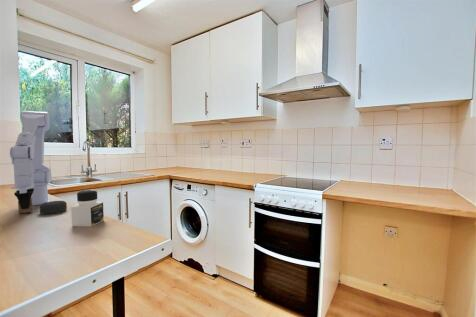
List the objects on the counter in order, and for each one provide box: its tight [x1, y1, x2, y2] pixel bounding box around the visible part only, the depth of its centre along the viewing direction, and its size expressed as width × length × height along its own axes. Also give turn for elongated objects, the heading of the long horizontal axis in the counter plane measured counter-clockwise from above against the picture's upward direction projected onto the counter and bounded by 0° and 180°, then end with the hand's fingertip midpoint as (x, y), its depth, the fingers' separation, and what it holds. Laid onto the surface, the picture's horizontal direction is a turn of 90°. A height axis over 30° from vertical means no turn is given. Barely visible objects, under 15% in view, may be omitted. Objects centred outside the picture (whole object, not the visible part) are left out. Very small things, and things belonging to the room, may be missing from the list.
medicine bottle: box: [70, 189, 105, 228], centre depth 83 cm, size 7×7×12 cm
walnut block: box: [17, 198, 33, 214], centre depth 96 cm, size 4×4×5 cm
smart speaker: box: [39, 200, 68, 215], centre depth 98 cm, size 9×9×4 cm
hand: (25, 207), depth 96 cm, fingers closed on walnut block, 4 cm apart
